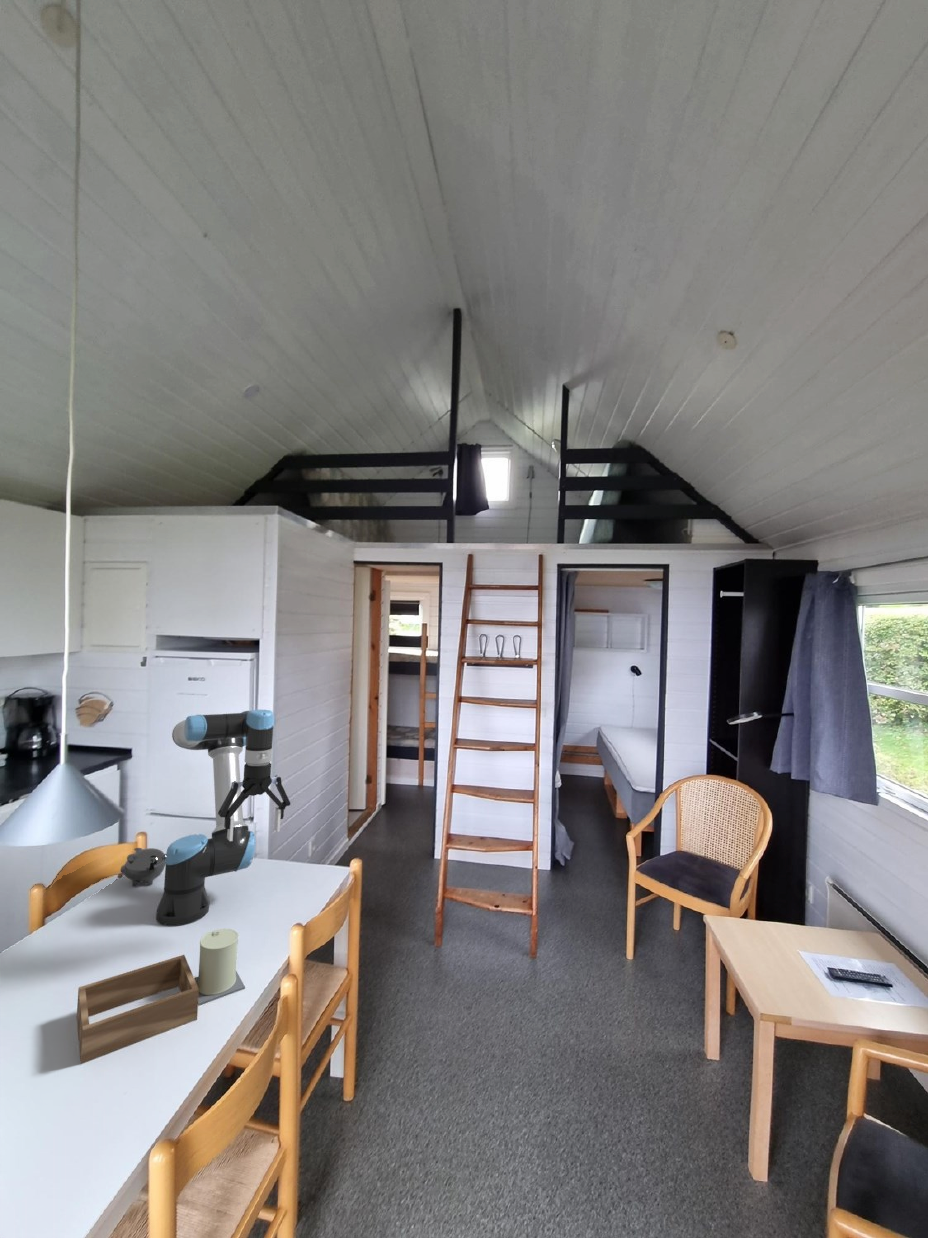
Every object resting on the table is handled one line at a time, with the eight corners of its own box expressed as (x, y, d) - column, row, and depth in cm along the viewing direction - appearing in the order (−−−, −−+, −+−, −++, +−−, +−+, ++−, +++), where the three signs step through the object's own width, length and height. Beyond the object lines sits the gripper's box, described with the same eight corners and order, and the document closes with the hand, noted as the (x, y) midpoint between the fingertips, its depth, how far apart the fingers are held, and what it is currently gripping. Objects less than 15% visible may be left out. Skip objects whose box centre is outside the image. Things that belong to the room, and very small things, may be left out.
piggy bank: (126, 876, 193) (128, 844, 193) (171, 873, 197) (173, 842, 197) (114, 891, 182) (116, 857, 182) (162, 888, 186) (164, 855, 186)
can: (228, 967, 144) (230, 923, 144) (241, 984, 137) (244, 938, 138) (191, 982, 138) (194, 935, 138) (204, 1000, 131) (207, 951, 131)
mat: (188, 981, 138) (188, 980, 138) (232, 966, 145) (233, 965, 145) (198, 1005, 130) (198, 1004, 130) (244, 988, 137) (245, 987, 137)
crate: (76, 1017, 124) (78, 987, 124) (182, 981, 138) (184, 954, 138) (80, 1064, 111) (82, 1030, 111) (197, 1019, 125) (198, 989, 125)
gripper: (216, 771, 147) (211, 848, 146) (303, 760, 162) (299, 830, 162) (209, 765, 152) (205, 839, 152) (294, 755, 168) (290, 823, 167)
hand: (254, 835), depth 157 cm, fingers open, 13 cm apart
